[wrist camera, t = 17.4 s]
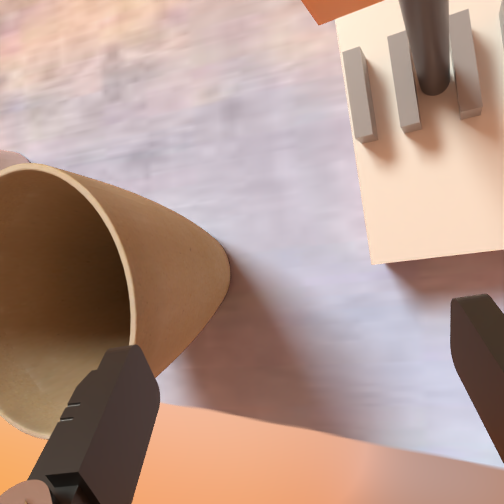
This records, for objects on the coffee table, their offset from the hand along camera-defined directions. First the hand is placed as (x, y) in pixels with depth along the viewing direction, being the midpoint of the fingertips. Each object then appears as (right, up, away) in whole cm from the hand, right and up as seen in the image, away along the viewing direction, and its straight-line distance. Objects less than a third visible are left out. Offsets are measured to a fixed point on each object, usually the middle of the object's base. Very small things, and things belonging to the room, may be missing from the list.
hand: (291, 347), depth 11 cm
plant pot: (-6, +1, +26) cm, 27 cm away
